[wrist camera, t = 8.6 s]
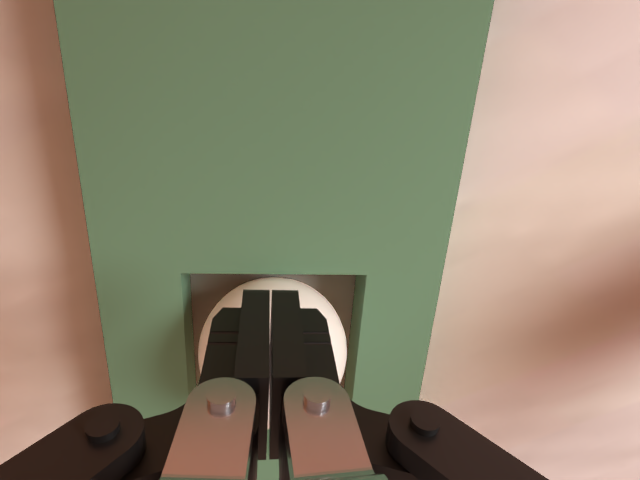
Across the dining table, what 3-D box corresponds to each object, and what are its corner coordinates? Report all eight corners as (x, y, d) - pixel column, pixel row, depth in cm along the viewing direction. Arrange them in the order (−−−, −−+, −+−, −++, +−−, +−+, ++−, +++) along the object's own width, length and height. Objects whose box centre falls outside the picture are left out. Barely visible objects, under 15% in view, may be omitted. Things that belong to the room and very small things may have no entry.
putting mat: (61, -125, 14) (30, -151, 12) (484, -80, 16) (512, -96, 14) (139, 470, 24) (128, 505, 22) (392, 459, 26) (401, 491, 24)
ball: (198, 456, 18) (208, 328, 22) (344, 447, 19) (329, 325, 23) (181, 389, 14) (198, 246, 18) (371, 382, 15) (346, 246, 19)
